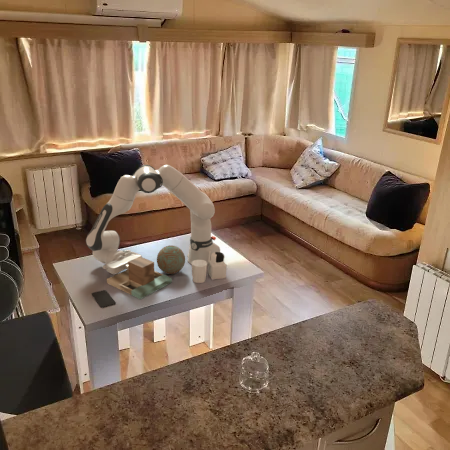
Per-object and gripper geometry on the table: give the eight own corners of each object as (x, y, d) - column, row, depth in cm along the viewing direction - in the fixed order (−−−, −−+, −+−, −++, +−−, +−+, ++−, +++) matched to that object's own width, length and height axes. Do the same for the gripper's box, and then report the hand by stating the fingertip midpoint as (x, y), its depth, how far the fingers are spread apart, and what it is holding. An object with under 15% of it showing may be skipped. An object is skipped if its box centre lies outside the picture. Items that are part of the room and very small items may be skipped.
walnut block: (140, 273, 241) (140, 256, 237) (154, 279, 236) (154, 262, 232) (129, 279, 235) (128, 261, 231) (142, 285, 230) (142, 267, 226)
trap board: (139, 268, 252) (139, 264, 251) (171, 282, 239) (171, 278, 238) (107, 283, 236) (106, 278, 235) (140, 299, 223) (140, 294, 222)
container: (221, 271, 252) (222, 249, 247) (226, 278, 246) (227, 256, 241) (207, 273, 250) (208, 251, 245) (212, 280, 243) (212, 257, 238)
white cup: (203, 285, 238) (203, 267, 234) (189, 282, 240) (189, 264, 236) (208, 278, 245) (209, 261, 241) (195, 275, 247) (195, 258, 243)
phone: (105, 289, 229) (116, 303, 218) (105, 290, 229) (116, 304, 218) (90, 293, 225) (101, 307, 214) (90, 294, 226) (101, 308, 214)
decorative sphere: (171, 281, 240) (171, 255, 234) (151, 272, 248) (150, 247, 242) (190, 271, 251) (191, 246, 245) (170, 263, 259) (170, 238, 254)
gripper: (100, 261, 235) (118, 269, 228) (130, 248, 250) (149, 255, 243) (101, 272, 237) (119, 280, 230) (131, 259, 253) (149, 266, 245)
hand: (134, 267), depth 237 cm, fingers closed
